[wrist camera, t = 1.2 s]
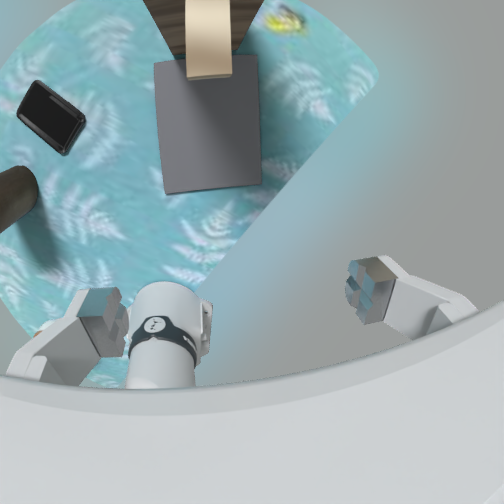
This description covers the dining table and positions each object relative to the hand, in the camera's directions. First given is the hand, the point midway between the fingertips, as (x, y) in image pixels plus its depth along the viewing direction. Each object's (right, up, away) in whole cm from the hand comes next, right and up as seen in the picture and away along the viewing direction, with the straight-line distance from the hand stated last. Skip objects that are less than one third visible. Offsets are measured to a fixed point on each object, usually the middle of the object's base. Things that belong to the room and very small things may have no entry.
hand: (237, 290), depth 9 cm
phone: (-34, +25, +24) cm, 49 cm away
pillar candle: (-44, +13, +28) cm, 53 cm away
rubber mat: (-6, +22, +30) cm, 37 cm away
